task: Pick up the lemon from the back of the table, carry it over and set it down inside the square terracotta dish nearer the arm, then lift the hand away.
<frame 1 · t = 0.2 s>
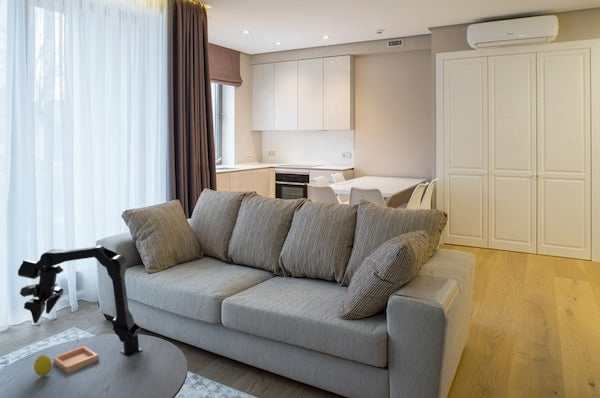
hand: (41, 318, 175), 15 cm above the table, tool pointing down, fingers open, 9 cm apart
lemon: (43, 376, 161), on the table
dish: (76, 362, 170), on the table
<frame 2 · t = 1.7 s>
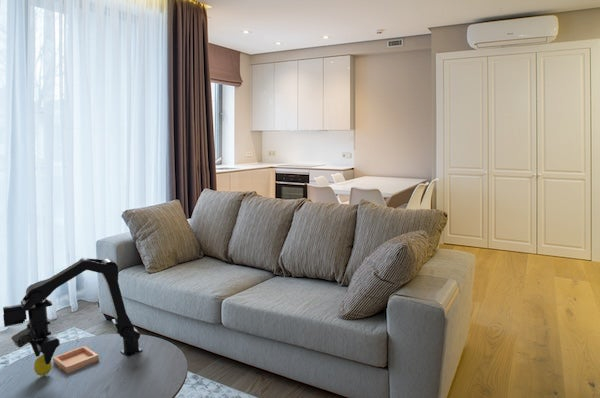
hand: (42, 360, 160), 6 cm above the table, tool pointing down, fingers open, 9 cm apart
nothing on the table moved.
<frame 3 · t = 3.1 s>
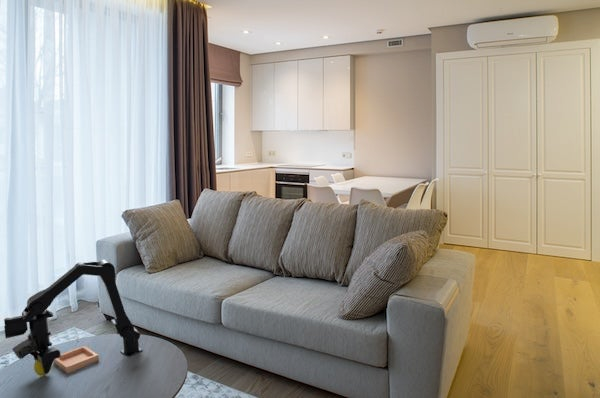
hand: (43, 370, 160), 2 cm above the table, tool pointing down, fingers closed on lemon, 5 cm apart
lemon: (43, 376, 161), on the table, touching gripper
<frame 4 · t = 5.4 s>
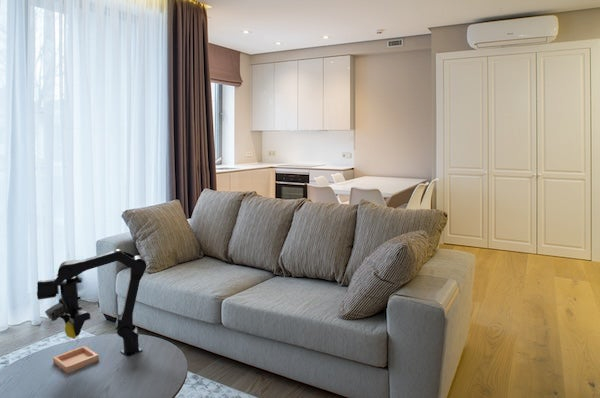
hand: (73, 333, 169), 12 cm above the table, tool pointing down, fingers closed on lemon, 5 cm apart
lemon: (74, 339, 169), point 10 cm above the table, touching gripper
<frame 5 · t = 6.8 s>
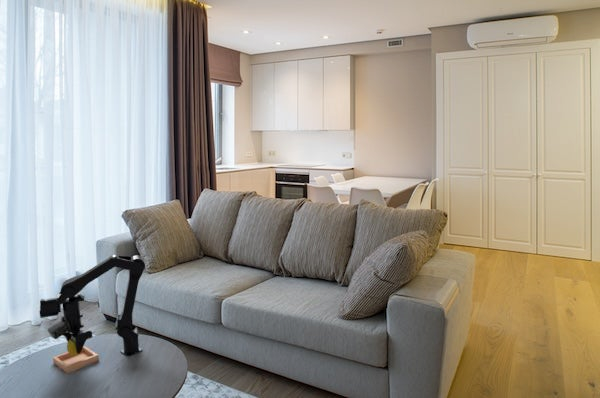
hand: (75, 351, 170), 4 cm above the table, tool pointing down, fingers closed on lemon, 5 cm apart
lemon: (76, 356, 170), point 2 cm above the table, touching gripper
when the fingers open (4 cm above the table, at t = 7.6 s): lemon drops 2 cm, resting on dish.
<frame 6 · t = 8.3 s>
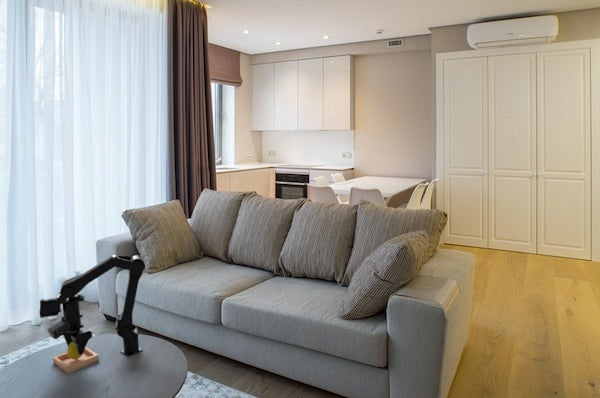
hand: (75, 351, 170), 4 cm above the table, tool pointing down, fingers open, 9 cm apart
lemon: (76, 360, 170), point 1 cm above the table, touching dish
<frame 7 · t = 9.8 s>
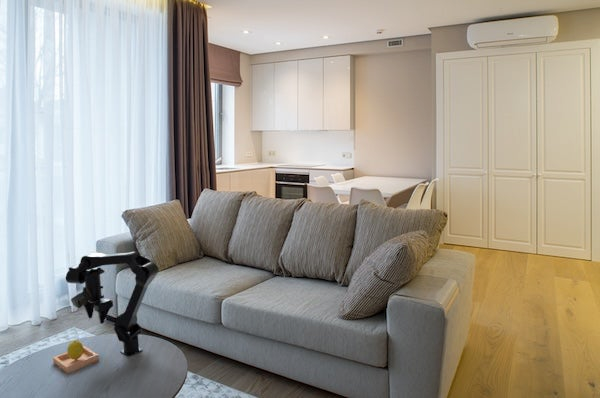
hand: (96, 320, 180), 12 cm above the table, tool pointing down, fingers open, 9 cm apart
nothing on the table moved.
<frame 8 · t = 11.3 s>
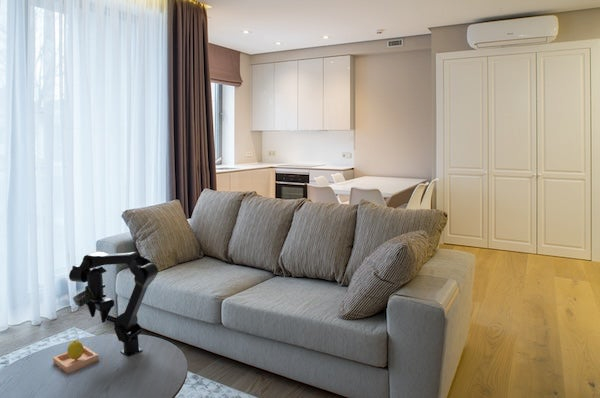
hand: (98, 319, 181), 12 cm above the table, tool pointing down, fingers open, 9 cm apart
nothing on the table moved.
at the end: lemon inside the target area on the dish (0.1 cm from its centre), point 0.6 cm above the dish's base; the gripper is holding nothing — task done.
